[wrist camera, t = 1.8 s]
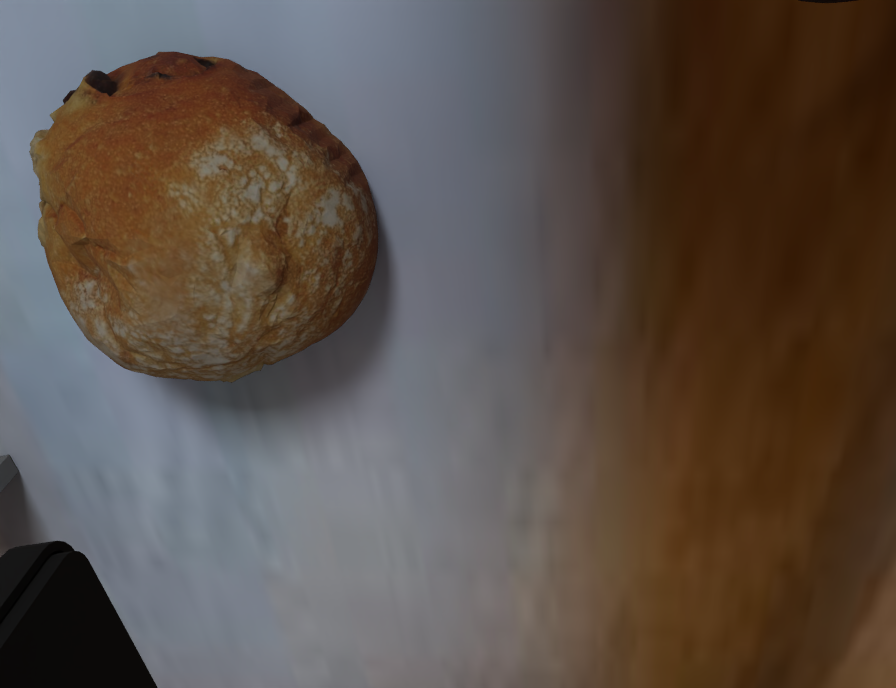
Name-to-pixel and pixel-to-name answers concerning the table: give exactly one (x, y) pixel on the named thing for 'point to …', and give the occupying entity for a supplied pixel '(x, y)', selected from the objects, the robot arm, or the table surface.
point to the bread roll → (200, 218)
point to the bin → (6, 471)
